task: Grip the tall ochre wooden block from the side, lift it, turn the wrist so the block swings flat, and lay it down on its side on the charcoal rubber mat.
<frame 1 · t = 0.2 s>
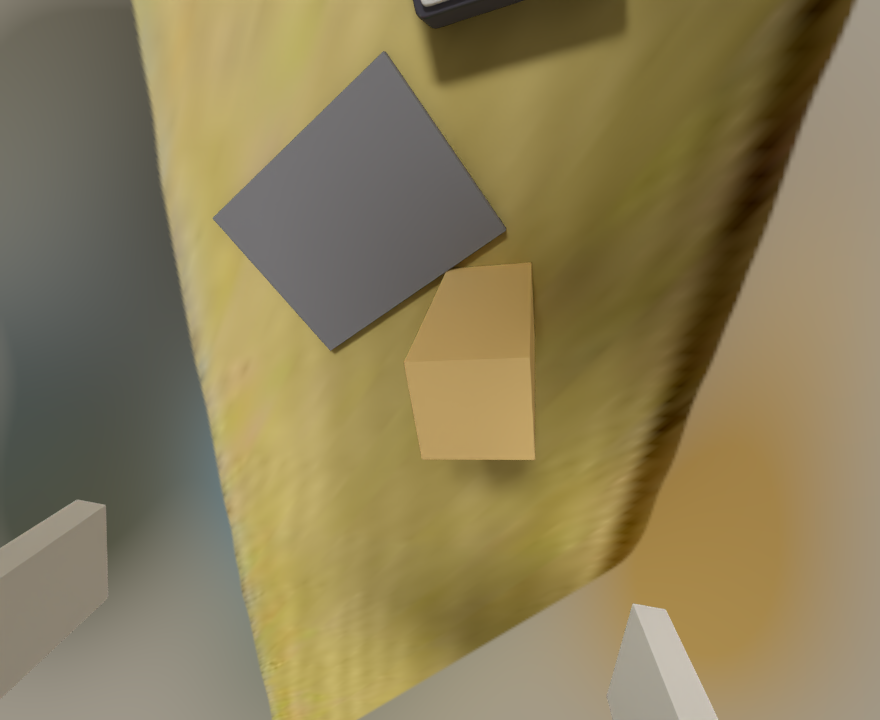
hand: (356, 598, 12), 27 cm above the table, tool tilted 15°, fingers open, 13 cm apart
ochre block: (492, 304, 37), on the table
charcoal mat: (355, 222, 36), on the table
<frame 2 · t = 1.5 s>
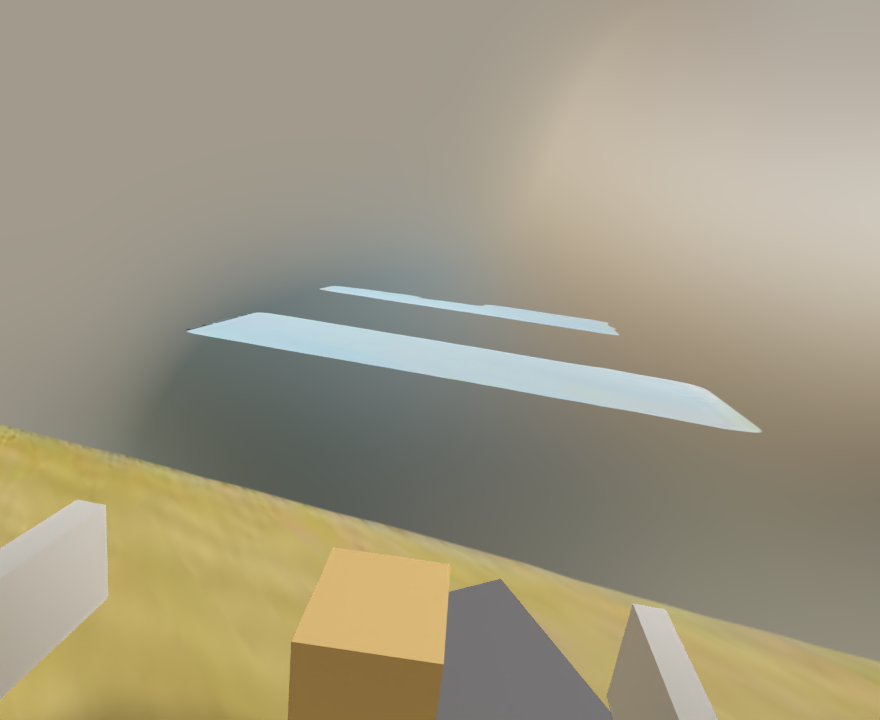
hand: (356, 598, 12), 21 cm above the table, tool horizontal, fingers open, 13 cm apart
charcoal mat: (487, 686, 35), on the table
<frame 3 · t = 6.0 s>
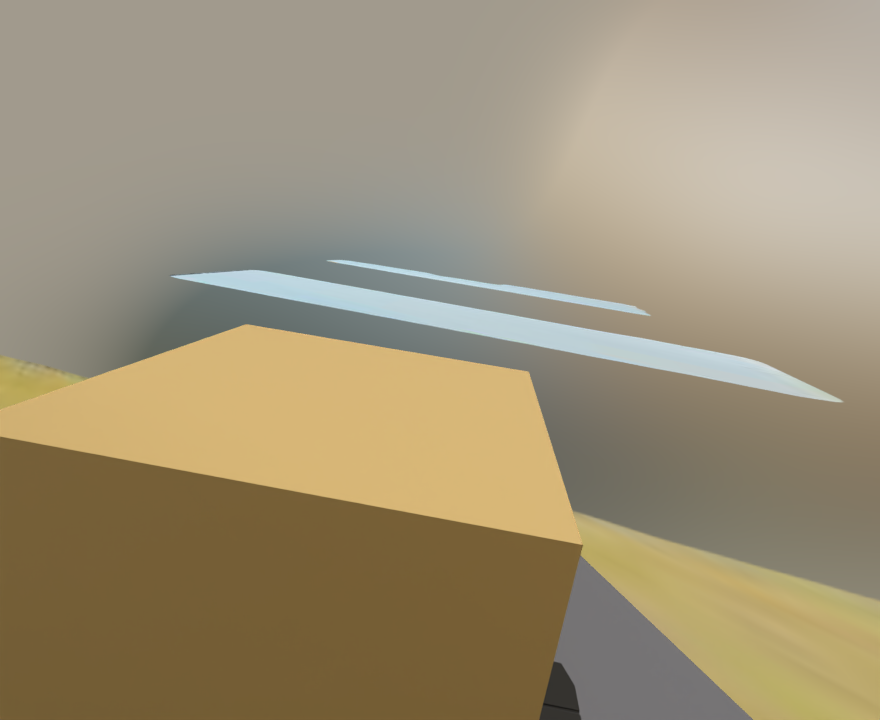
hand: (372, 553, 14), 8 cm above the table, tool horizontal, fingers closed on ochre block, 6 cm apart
charcoal mat: (548, 690, 19), on the table
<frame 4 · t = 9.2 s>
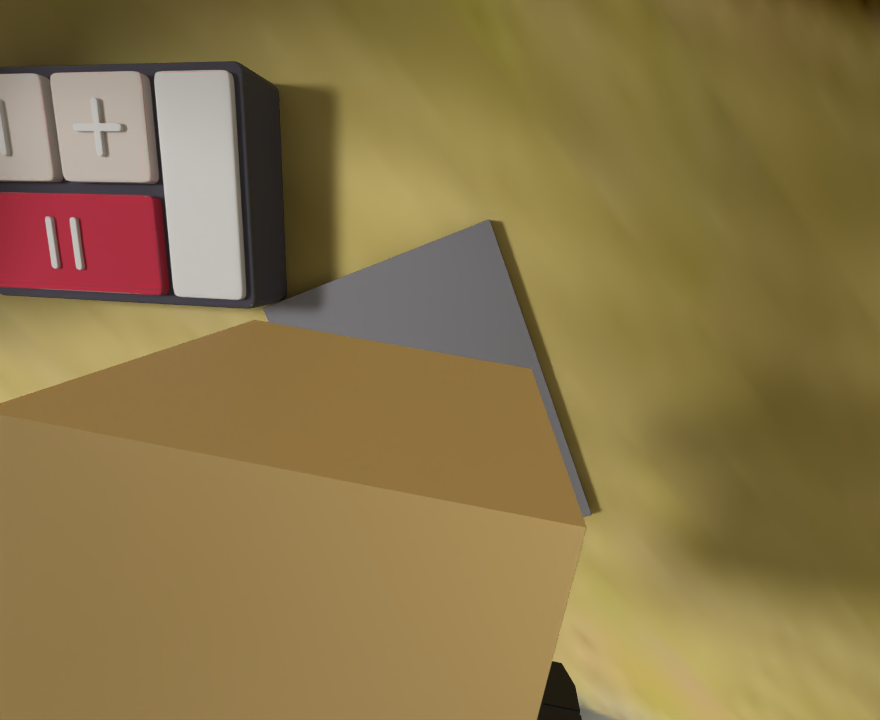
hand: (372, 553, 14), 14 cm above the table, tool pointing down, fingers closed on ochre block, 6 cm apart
charcoal mat: (430, 409, 28), on the table
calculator: (155, 195, 28), on the table
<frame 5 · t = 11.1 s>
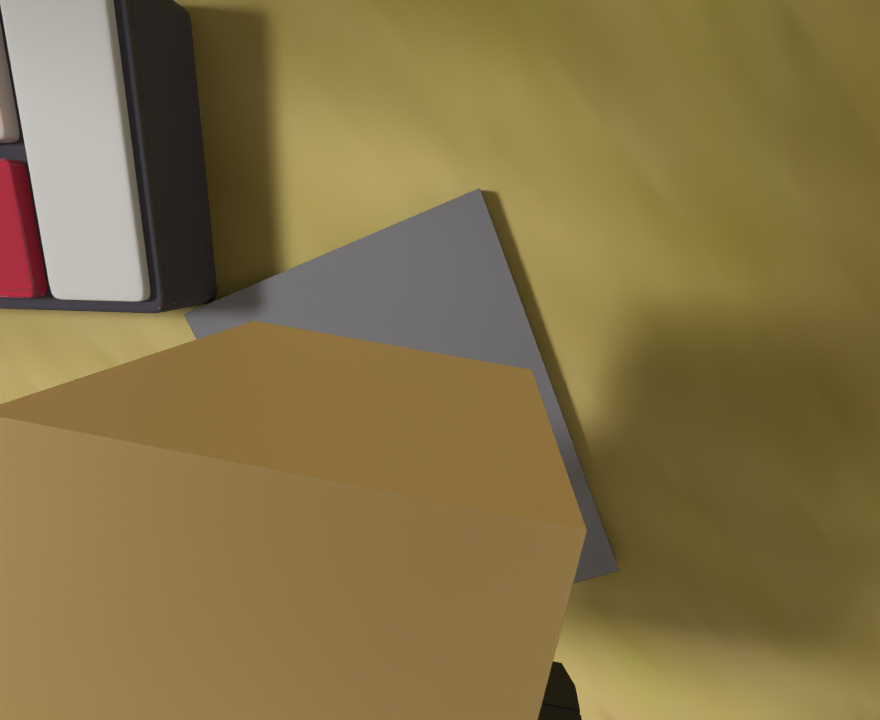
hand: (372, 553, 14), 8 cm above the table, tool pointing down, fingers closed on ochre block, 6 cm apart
charcoal mat: (409, 440, 22), on the table
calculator: (39, 166, 21), on the table
when the fingers open (3 cm above the table, at t = 12.3 s): ochre block drops 4 cm, resting on charcoal mat.
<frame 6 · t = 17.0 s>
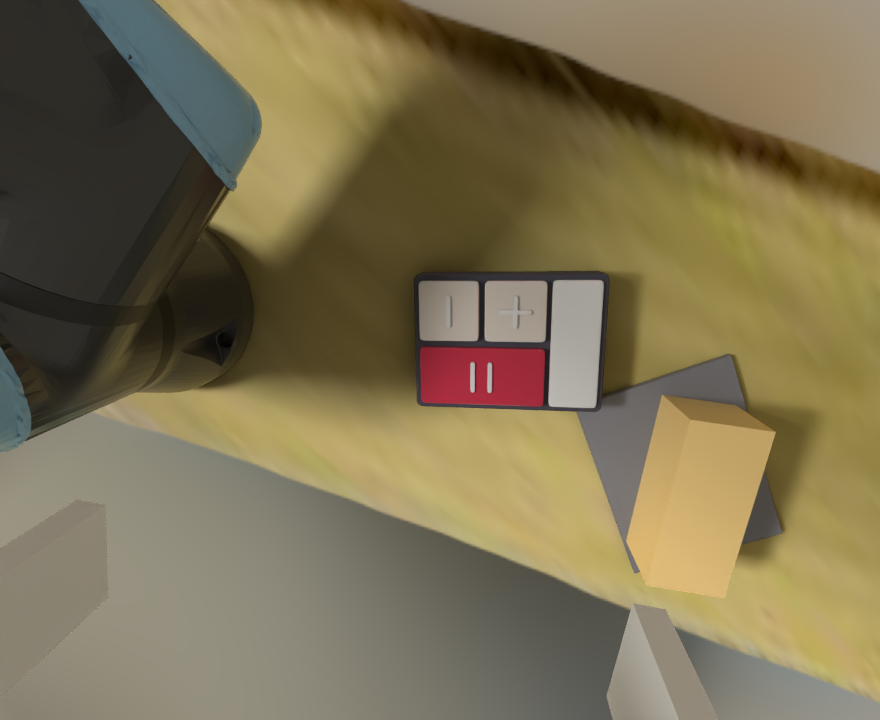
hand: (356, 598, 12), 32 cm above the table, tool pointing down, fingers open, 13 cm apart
ochre block: (671, 567, 42), point 4 cm above the table, tilted 90°, touching charcoal mat
charcoal mat: (677, 468, 44), on the table
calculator: (507, 335, 43), on the table
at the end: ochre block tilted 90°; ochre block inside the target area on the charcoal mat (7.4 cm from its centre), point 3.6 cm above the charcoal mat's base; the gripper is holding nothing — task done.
